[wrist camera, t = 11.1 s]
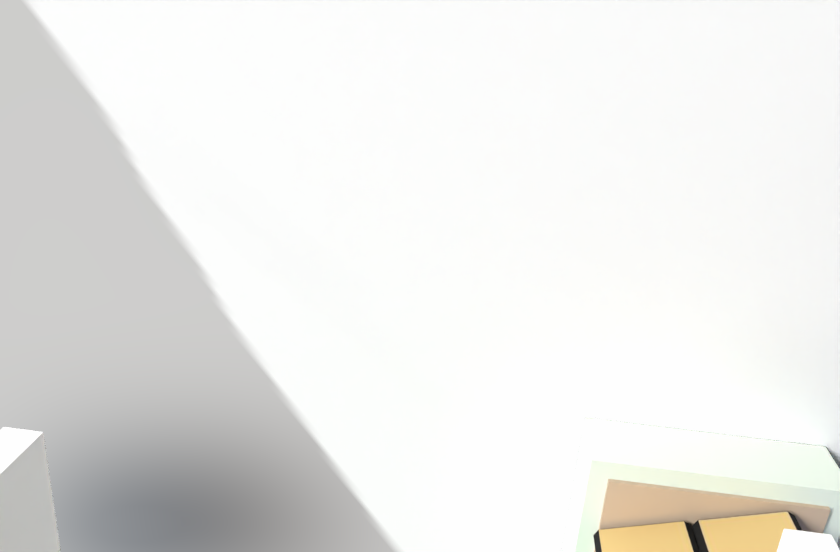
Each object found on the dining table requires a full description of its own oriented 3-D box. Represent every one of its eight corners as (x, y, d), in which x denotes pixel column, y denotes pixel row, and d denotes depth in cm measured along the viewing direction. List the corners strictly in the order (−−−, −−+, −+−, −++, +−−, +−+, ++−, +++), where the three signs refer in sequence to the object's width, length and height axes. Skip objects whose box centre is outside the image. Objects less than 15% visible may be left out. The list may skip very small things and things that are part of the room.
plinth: (825, 446, 42) (857, 496, 38) (768, 624, 47) (791, 684, 43) (585, 417, 43) (592, 463, 39) (554, 593, 48) (557, 649, 44)
